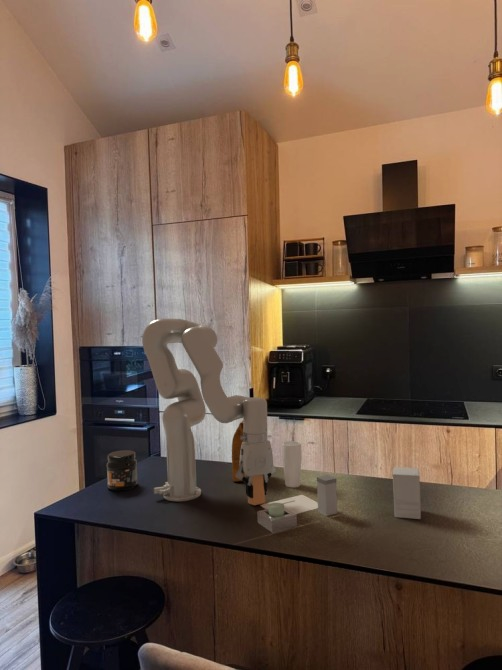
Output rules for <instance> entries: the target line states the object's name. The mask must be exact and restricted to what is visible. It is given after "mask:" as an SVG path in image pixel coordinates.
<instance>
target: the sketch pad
mask: <svg viewBox="0 0 502 670" xmlns="http://www.w3.org/2000/svg"><path fill="white" fill-rule="evenodd" d="M272 503H282V504H284V507H285V508H287V509H288V510H290V511H292V512H293V513H295V514H297V515H298V514H302V513H307V512H310V511H314V510H318V501H316V500H313V499H312V498H310V497H307V496H305V495H303V494H299V495H296V496H291V497H286V498H284V499H279V500H275V501H270V502H265V503H262V504H259V506H260V507H262V508H263V509H268V508H269V504H272Z"/></svg>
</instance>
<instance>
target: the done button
mask: <svg viewBox="0 0 502 670" xmlns="http://www.w3.org/2000/svg"><path fill="white" fill-rule="evenodd" d="M269 515H270V516H271V517H273V518H275V517H279V516H283V515H285V513H284V504H282V503H272V504H269Z"/></svg>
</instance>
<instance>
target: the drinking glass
mask: <svg viewBox="0 0 502 670" xmlns="http://www.w3.org/2000/svg"><path fill="white" fill-rule="evenodd" d="M281 452H282V453H281V454H282V462H283V464H282V465H283V473H284V482H285V483H284V484H285V487H287V488H299V487H300V486H301V484H302V483H301V481H302V480H301V475H302V472H301V471H302V459H303V458H302V457H303V452H302V442H301V441H296V440H286V441H283V442H282V445H281Z"/></svg>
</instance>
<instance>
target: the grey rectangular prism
mask: <svg viewBox="0 0 502 670" xmlns="http://www.w3.org/2000/svg"><path fill="white" fill-rule="evenodd" d="M316 485H317V487H316V489H317V503H318V509H317V513H319V514H322V516H323V515H324V516H325V517H328V516H332V515H336V514H338V495H337V494H338V493H337V492H338V491H337V490H338V489H337V477H334V476H332V475H329V474H325V475H321V476H316Z"/></svg>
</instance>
